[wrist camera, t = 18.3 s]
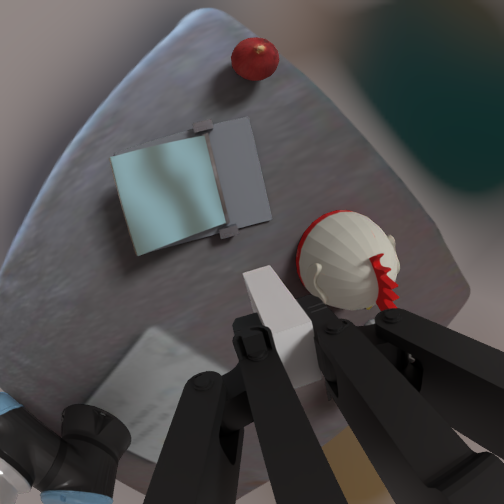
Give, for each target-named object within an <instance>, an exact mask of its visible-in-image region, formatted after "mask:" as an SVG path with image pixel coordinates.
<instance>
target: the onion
mask: <svg viewBox="0 0 504 504" xmlns="http://www.w3.org/2000/svg"><path fill="white" fill-rule="evenodd" d="M231 61H232V67H233V69H234V70H235V72H236V73H237V74H238V75H240V76H241V77H243V78H244V79H248V80H251V81H259V80H263V79H265V78H267V77H269V76H271V75H272V74H273V73H274V72H275V70H276V68H277V66H278V63H279V54H278V51H277V49H276V48H275V47H274V45H273V44H272V43H271V42H269V41H268V40H266V39H262V38H257V37H256V38H247V39H245V40H243V41H241V42H240V43H239V44H238V45H237V46H236V47H235V48H234V50H233V53H232V56H231Z"/></svg>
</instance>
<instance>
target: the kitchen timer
mask: <svg viewBox="0 0 504 504" xmlns="http://www.w3.org/2000/svg"><path fill="white" fill-rule="evenodd" d="M296 266H297V273H298V275H299V278H300V280H301V282H302V284H303V285H304V286H305V288H306V289H307V290H308V291H309V292H310V293H311V294H312V295H314V296H317V297H319V298H320V299H321V300H322V301H323V303H325V305H326V304H327V305H330V306H333V307H337V308H341V309H347V310H359V309H367V310H369V309H370V308H371V307H372V306H374V305H376V304H377V305H378V307H379V308H380V310H381V311H383V310H385V309H389V308H397V307H396V306H395V304H394V303H393V302H392V301H394V300H396V299H398V298H399V296H398V295H396V294H395V293H394V292H393V291H392V289H394V288H396V287H398V285H397V284H396V283H395V280H396V276H397V274H398V272H399V270H400V263H399V260H398V258H397V255H396V251H395V240H394V238H393V237H392V236H391V235H388V236H386V235H385V233H384V232H383V231H382V229H381V228H380V227H379V226H378V225H377V224H375V223H374V222H373V221H372V220H370V219H369V218H368V217H366V216H364V215H361V214H358V213H355V212H352V211H349V210H336V211H333V212H330V213H327V214H324V215H322V216H321V217H319V218H318V219H317V220H315V221H314V222H312V224H311V225H310V226H309V227H308V229H307V230H306V231H305V232H304V234H303V236H302V238H301V240H300V242H299V245H298V248H297V255H296Z"/></svg>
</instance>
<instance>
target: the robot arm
mask: <svg viewBox="0 0 504 504" xmlns="http://www.w3.org/2000/svg"><path fill="white" fill-rule="evenodd" d="M243 277H244V280H245V284H246V287H247V291H248V294H249V298H250V301H251V305H252V308H253V312H254V313H253V314H250V315H246V316H243V317H239V318H236V319H235V321H234V323H233V325H232V326H233V331H234V335H235V336H234V337H233V341H232V342H233V345H234V348H235V351H236V353H237V356H238V359H239V363H238V364H237V366H236V367H235V368H234V369H233V370H231V371H230V372H228V373H226V374H224V375H222V376H221V375H220V374H219V373H217V372H214V371H206V372H202V373H199V374H197V375H194V376H193V377H192V378H190V379H189V380H188V381H187V383H186V384H185V387H184V389H183V392H182V395H181V397H180V400H179V403H178V406H177V409H176V411H175V414H174V417H173V420H172V422H171V425H170V428H169V431H168V434H167V436H166V439H165V442H164V445H163V448H162V450H161V453H160V456H159V459H158V462H157V465H156V468H155V470H154V473H153V476H152V479H151V482H150V485H149V488H148V491H147V494H146V496H145V499H144V503H143V504H235V503H236V495H237V487H238V479H239V471H240V462H241V454H242V446H243V437H244V427H245V426H246V425H248V424H250V423H252V422H254V423H255V427H256V431H257V435H258V439H259V442H260V446H261V450H262V454H263V457H264V461H265V465H266V468H267V472H268V476H269V479H270V483H271V486H272V490H273V493H274V496H275V500H276V503H277V504H348V503H347V501H346V498H345V497H344V494H343V492H342V490H341V488H340V486H339V484H338V482H337V480H336V478H335V476H334V474H333V471H332V469H331V467H330V465H329V463H328V461H327V459H326V457H325V454H324V453H323V450H322V448H321V446H320V444H319V442H318V440H317V437H316V435H315V433H314V431H313V429H312V427H311V425H310V422H309V420H308V418H307V416H306V414H305V412H304V409H303V407H302V405H301V403H300V401H299V399H298V396H297V394H296V392H295V390H294V389H296V388H299V387H302V386H305V385H308V384H311V383H313V382H316V381H319V380H322V376H321V371H322V373H323V375H324V376H325V382H326V389H327V395H328V400H331V396H332V397H333V399H334V401H335V402H336V404H337V406H338V407H339V409H340V411H341V412H342V414H343V416H344V418H345V419H346V421H347V423H348V424H349V426H350V428H351V429H352V431H353V433H354V434H355V436H356V438H357V439H358V441H359V443H360V444H361V446H362V448H363V450H364V451H365V453H366V455H367V456H368V458H369V460H370V461H371V463H372V465H373V466H374V468H375V470H376V471H377V473H378V475H379V477H380V478H381V480H382V482H383V483H384V485H385V487H386V488H387V490H388V492H389V493H390V495H391V497H392V498H393V500H394V502H395V503H396V504H504V463H503V462H502V461H501V460H500V459H499V458H498V457H497V456H499V457H500V458H502V459H503V460H504V352H502V351H500V350H498V349H495V348H493V347H491V346H488V345H486V344H484V343H481V342H479V341H477V340H474V339H472V338H470V337H467V336H465V335H463V334H460V333H458V332H456V331H453V330H451V329H449V328H446V327H444V326H442V325H439V324H437V323H435V322H432V321H430V320H427V319H425V318H423V317H420V316H418V315H416V314H413V313H411V312H409V311H406V310H404V309H400V308H389V309H385V310H383V311H381V312H379V313H378V314H377V315H376V317H375V324H371V325H366V326H355V325H354V324H353V323H352V322H350V321H349V320H346V319H338V317H337V316H336V315H335V314H334V313H333V312H332V311H331V310H330V309H329V308H328V307H327V306H326V305H325V303H323V301H322V300H321V299H320V298H319V297H317V296H314V295H311V294H310V295H307V296H304V297H301V298H298V299H295V298H294V297H293V296H292V294H291V293H290V292H289V290H288V289H287V288H286V286H285V285H284V284H283V282H282V281H281V280H280V278H279V277H278V276H277V274H276V273H275V272H274V270H273V269H272V268H271V266H270V265H268V266H265V267H262V268H258V269H255V270H252V271H248V272H245V273H243ZM409 354H411V355H413V356H414V357H416V358H415V360H413V359H411V358H409ZM320 370H321V371H320ZM101 412H102V413H105V415H106V416H104V415H101V414H100V413H101ZM63 415H64V416H63ZM451 427H452V428H454V429H455V430H457V431H458V432H460V433H461V434H463V435H464V436H466V437H468V438H469V439H471V440H472V441H474V442H476V443H477V444H479V445H480V446H482V447H484V448H485V449H487V450H489V451H490V452H492V453H489V452H481V453H476V452H474V451H472V450H471V449H470V448H469V447H468V446H467V444H466V443H465V442H464V441H463V440H462V439H461V438H460V437H459V435H457V433H456V432H455V431H454V430H453V429H452V428H451ZM130 444H131V435H130V432H129V430H128V429H127V427H126V426H125V425H124V424H123V423H122V422H121V421H120V420H119V419H117V418H116V417H115V416H113V415H112V414H110V413H108V412H106V411H104V410H102V409H100V408H97V407H94V406H90V405H84V404H75V405H71V406H68V407H67V408H65V409H64V411H63V413H62V438H61V437H60V436H58V435H57V434H56V433H54V432H53V431H52V430H50V429H49V428H48V427H47V426H45V425H44V424H43V423H42V422H40V421H39V420H38V419H37V418H36V417H34V416H33V415H32V414H31V413H30V412H29V411H27V410H26V409H25V408H24V406H23V405H22V404H19V403H18V402H17V401H16V400H15V399H14V398H12V397H11V396H10V395H9V394H7V393H5V392H0V504H15V502H16V499H17V496H18V494H21V493H28V492H30V490H31V487H32V486H33V487H34V488H36V489H37V490H39V491H40V492H41V494H40V496H41V501H42V502H43V503H44V504H112V503H113V491H114V485H115V479H116V473H117V467H118V462H119V460H120V458H121V457H122V455H123V453H124V452H125V450H126V449H128V447H129V446H130ZM494 454H495V455H497V456H495V455H494Z"/></svg>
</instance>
